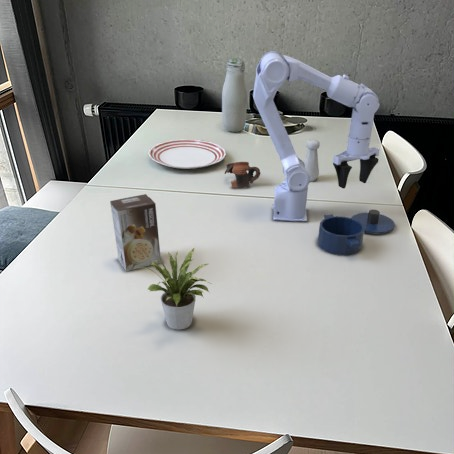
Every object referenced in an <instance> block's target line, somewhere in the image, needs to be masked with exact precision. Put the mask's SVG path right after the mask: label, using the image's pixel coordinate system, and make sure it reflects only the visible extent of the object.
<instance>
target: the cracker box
mask: <svg viewBox="0 0 454 454" xmlns="http://www.w3.org/2000/svg"><path fill="white" fill-rule="evenodd" d="M109 201H110V210H111V217H112V222H113V229H114V230H113V231H114V237H115V245H116V252H117V260H118V262H119V263H120V265H121V266H122V267H123V268H124V270H125V271H126V272H130V271H133V270H137V269H138V268H137V267H145V268H146V267H149V266H153V265H152V264H151V263H152V262H155V263H156V264H157V265H158V264H161V263H160V262H162V258H161V257H162V256H161V248H160V237H159V229H158V228H159V227H158V226H159V225H158V216H157V206H156V202H155V201H154V200H153V199H152V198H151V197H150V196H148V194H147V193H145V194H139V195H134V196H129V197H123V198H119V199H114V200H109ZM153 259H154V260H153ZM156 260H158V261H160V262H158V261H156ZM151 261H152V262H151ZM150 262H151V263H150Z"/></svg>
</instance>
